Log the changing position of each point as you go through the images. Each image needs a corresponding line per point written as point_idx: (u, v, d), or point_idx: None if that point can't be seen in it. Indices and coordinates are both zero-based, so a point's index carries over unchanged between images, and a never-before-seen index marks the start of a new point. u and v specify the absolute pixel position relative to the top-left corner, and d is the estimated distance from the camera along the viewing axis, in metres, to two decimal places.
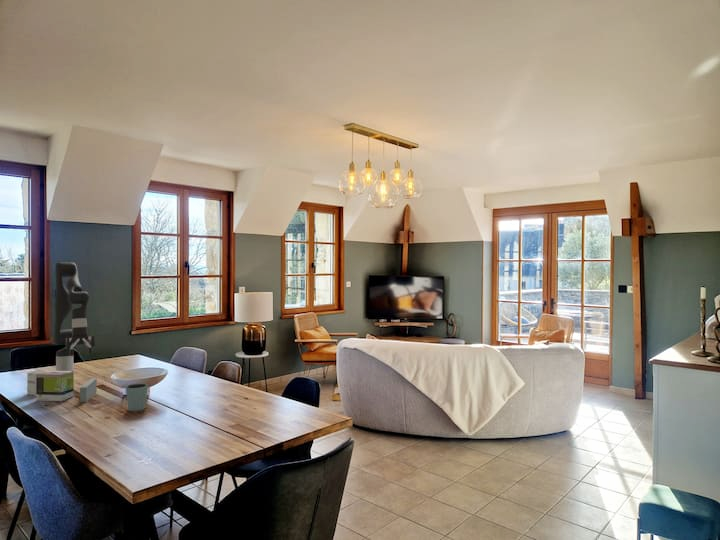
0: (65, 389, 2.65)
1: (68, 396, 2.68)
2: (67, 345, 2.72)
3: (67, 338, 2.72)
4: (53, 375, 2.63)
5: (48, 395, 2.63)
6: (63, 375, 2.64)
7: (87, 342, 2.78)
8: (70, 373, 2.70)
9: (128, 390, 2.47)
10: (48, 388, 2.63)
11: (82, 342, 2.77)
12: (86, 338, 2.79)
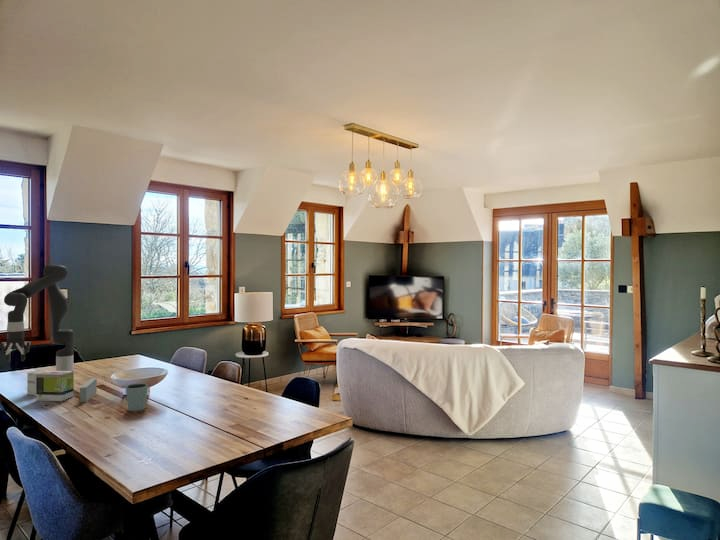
0: (65, 389, 2.65)
1: (68, 396, 2.68)
2: (2, 350, 2.60)
3: (0, 343, 2.60)
4: (53, 375, 2.63)
5: (48, 395, 2.63)
6: (63, 375, 2.64)
7: (20, 348, 2.62)
8: (70, 373, 2.70)
9: (128, 390, 2.47)
10: (48, 388, 2.63)
11: (15, 347, 2.62)
12: (21, 343, 2.63)
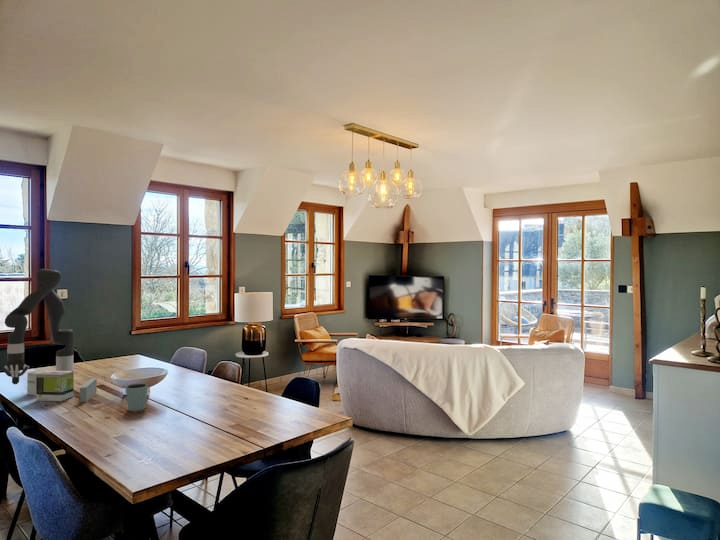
0: (65, 389, 2.65)
1: (68, 396, 2.68)
2: (7, 373, 2.61)
3: (1, 368, 2.60)
4: (53, 375, 2.63)
5: (48, 395, 2.63)
6: (63, 375, 2.64)
7: (17, 371, 2.62)
8: (70, 373, 2.70)
9: (128, 390, 2.47)
10: (49, 388, 2.63)
11: (14, 367, 2.62)
12: (20, 367, 2.62)
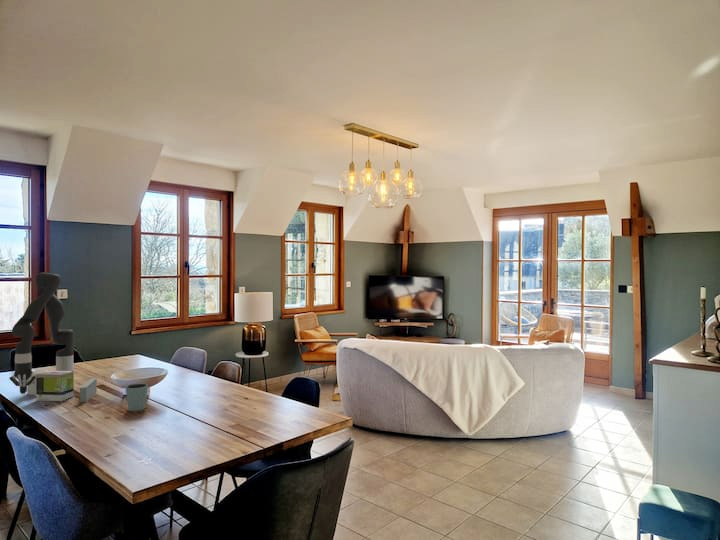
0: (65, 389, 2.65)
1: (68, 396, 2.68)
2: (15, 383, 2.62)
3: (9, 378, 2.61)
4: (53, 375, 2.63)
5: (48, 395, 2.63)
6: (63, 375, 2.64)
7: (25, 380, 2.63)
8: (70, 373, 2.70)
9: (128, 390, 2.47)
10: (48, 388, 2.63)
11: (22, 377, 2.63)
12: (28, 376, 2.64)
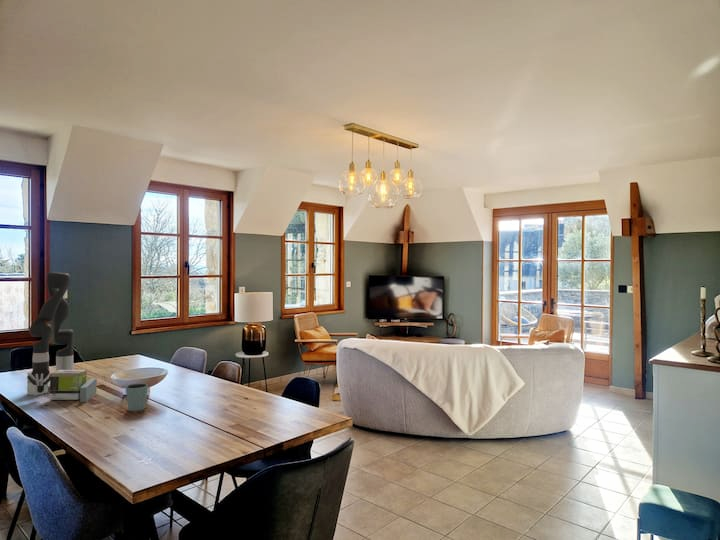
0: None
1: None
2: (32, 382, 2.64)
3: (27, 377, 2.63)
4: (69, 374, 2.65)
5: (63, 394, 2.65)
6: (80, 374, 2.67)
7: (42, 379, 2.65)
8: (84, 372, 2.73)
9: (128, 390, 2.47)
10: (64, 387, 2.65)
11: (39, 376, 2.65)
12: (45, 375, 2.66)
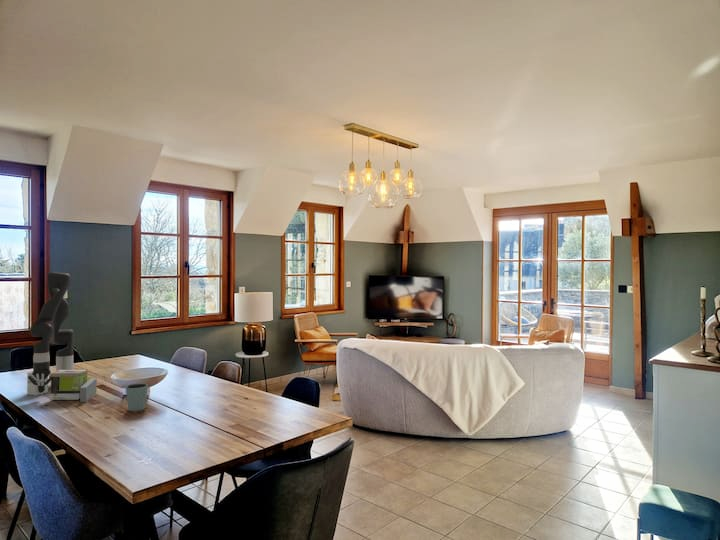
0: None
1: None
2: (33, 382, 2.64)
3: (28, 377, 2.63)
4: (70, 374, 2.65)
5: (64, 394, 2.65)
6: (80, 374, 2.67)
7: (43, 379, 2.65)
8: (85, 372, 2.73)
9: (128, 390, 2.47)
10: (65, 387, 2.65)
11: (40, 376, 2.65)
12: (46, 375, 2.66)
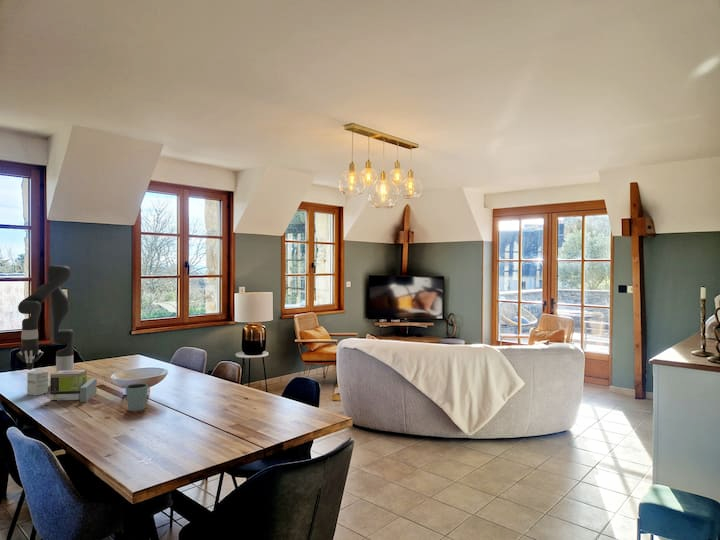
0: None
1: None
2: (21, 359, 2.63)
3: (16, 354, 2.62)
4: (69, 374, 2.65)
5: (64, 394, 2.65)
6: (80, 374, 2.67)
7: (31, 356, 2.63)
8: (84, 372, 2.73)
9: (128, 390, 2.47)
10: (64, 388, 2.65)
11: (28, 353, 2.63)
12: (34, 353, 2.64)
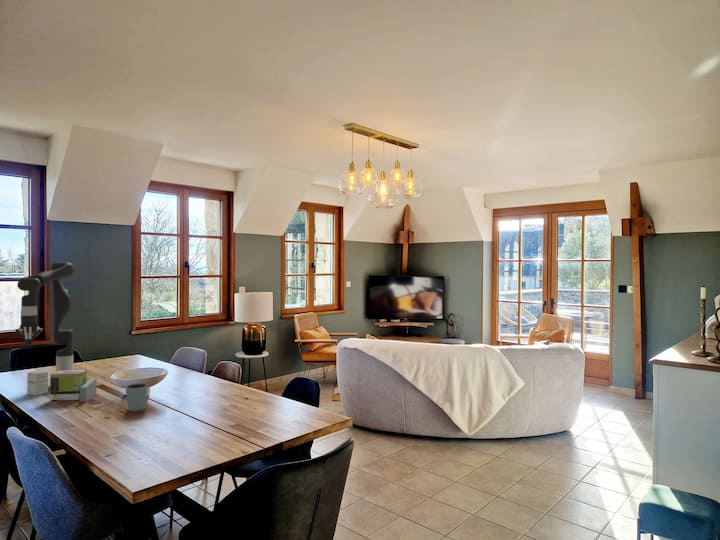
0: None
1: None
2: (21, 335, 2.66)
3: (15, 330, 2.65)
4: (69, 374, 2.65)
5: (64, 394, 2.65)
6: (80, 374, 2.67)
7: (30, 333, 2.67)
8: (84, 372, 2.73)
9: (128, 390, 2.47)
10: (64, 388, 2.65)
11: (27, 329, 2.67)
12: (34, 329, 2.68)
